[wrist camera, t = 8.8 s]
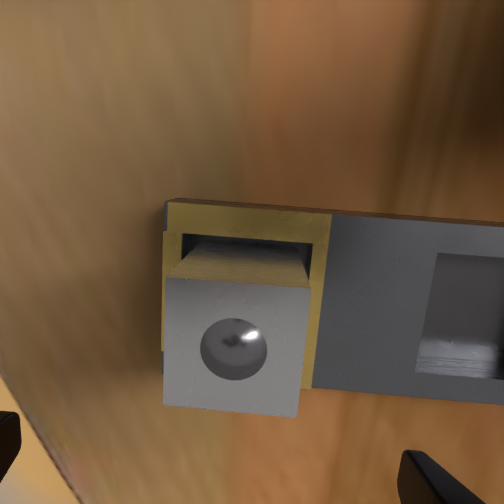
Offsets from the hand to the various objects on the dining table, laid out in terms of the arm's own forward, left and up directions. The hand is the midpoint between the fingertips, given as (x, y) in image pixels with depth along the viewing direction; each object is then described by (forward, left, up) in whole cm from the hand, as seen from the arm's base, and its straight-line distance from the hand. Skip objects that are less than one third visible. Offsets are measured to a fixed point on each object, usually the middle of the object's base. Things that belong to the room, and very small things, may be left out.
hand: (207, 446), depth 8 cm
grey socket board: (-6, 0, -12) cm, 14 cm away
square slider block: (0, 0, -12) cm, 12 cm away
